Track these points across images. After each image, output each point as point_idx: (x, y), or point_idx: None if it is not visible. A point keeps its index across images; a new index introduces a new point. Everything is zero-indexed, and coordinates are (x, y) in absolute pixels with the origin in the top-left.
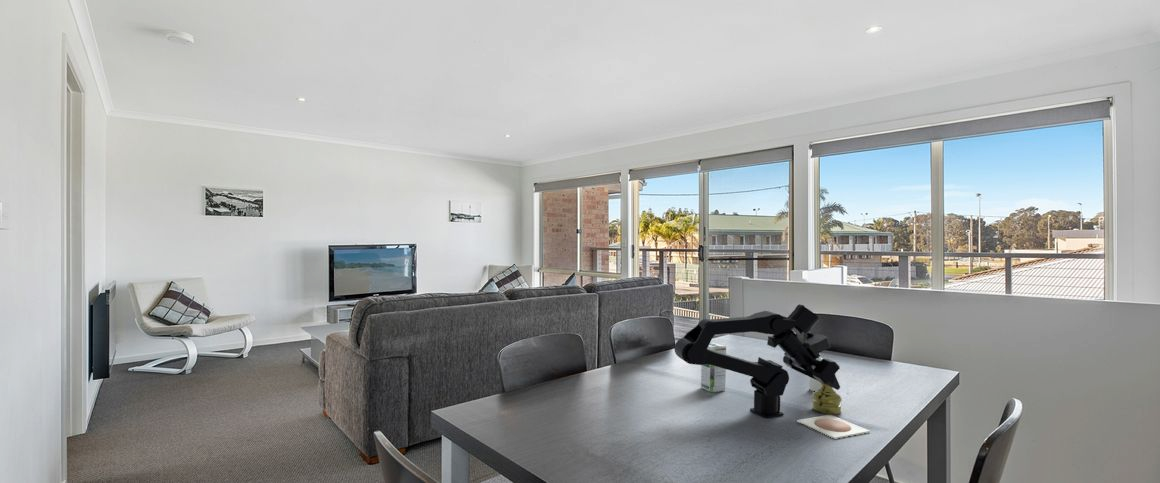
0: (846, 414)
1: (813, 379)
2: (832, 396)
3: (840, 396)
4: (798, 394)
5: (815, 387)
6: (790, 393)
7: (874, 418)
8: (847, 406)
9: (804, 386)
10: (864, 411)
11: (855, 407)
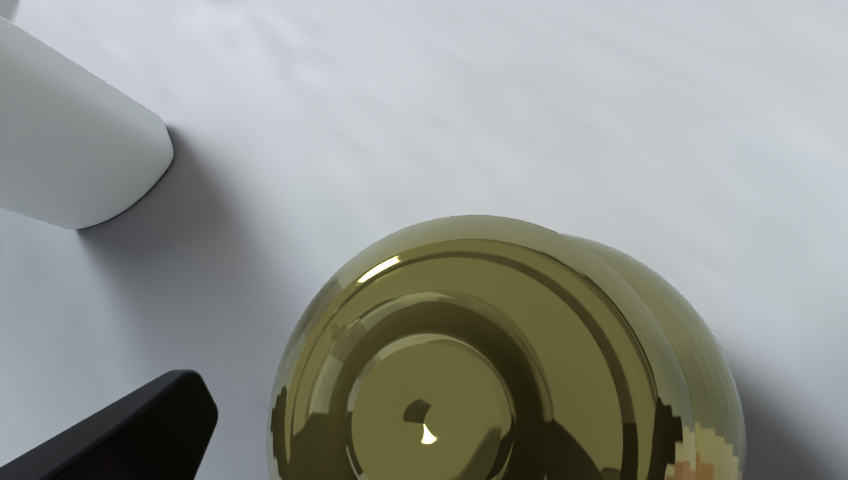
0: (693, 273)
1: (14, 182)
2: (699, 442)
3: (621, 259)
4: None
5: (95, 198)
6: None
7: (825, 54)
8: (468, 135)
9: (19, 223)
10: (610, 53)
11: (500, 80)
